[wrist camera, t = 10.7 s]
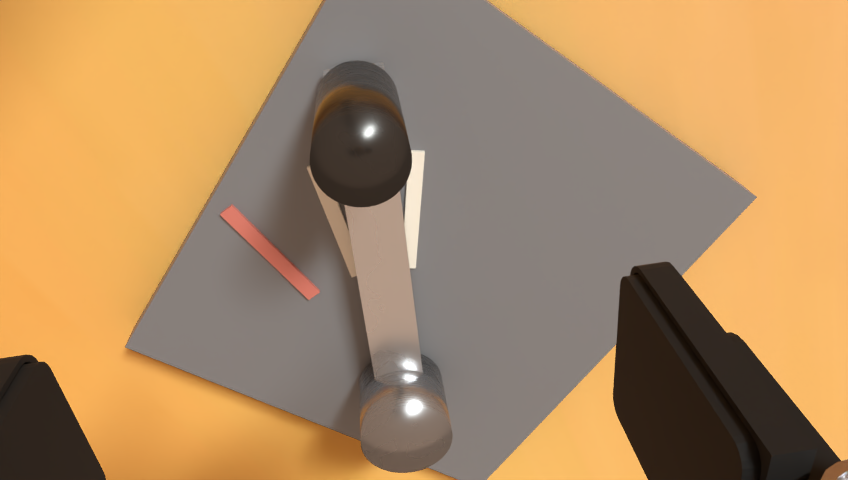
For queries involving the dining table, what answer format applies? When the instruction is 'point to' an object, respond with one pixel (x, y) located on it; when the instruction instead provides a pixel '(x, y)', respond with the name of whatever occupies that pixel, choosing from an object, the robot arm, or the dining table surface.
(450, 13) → the board
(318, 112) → the swing lever
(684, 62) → the dining table surface
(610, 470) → the dining table surface
